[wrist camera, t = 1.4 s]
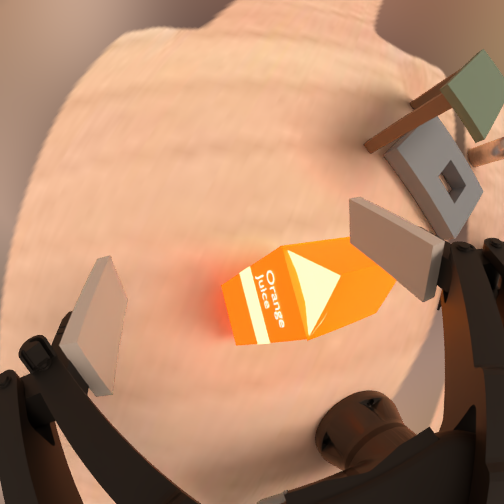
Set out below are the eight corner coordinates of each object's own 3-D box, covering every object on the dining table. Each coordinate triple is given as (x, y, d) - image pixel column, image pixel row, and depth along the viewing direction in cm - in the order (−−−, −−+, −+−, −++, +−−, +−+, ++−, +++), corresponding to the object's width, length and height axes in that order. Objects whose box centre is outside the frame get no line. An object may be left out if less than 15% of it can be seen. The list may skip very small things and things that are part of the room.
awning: (434, 126, 44) (510, 88, 23) (387, 176, 42) (484, 139, 21) (412, 97, 43) (483, 48, 22) (360, 142, 41) (447, 84, 21)
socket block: (469, 194, 45) (483, 191, 41) (439, 239, 43) (454, 239, 40) (420, 118, 43) (433, 110, 39) (383, 155, 42) (396, 148, 38)
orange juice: (220, 284, 35) (322, 215, 18) (281, 273, 39) (396, 211, 22) (236, 347, 34) (357, 335, 16) (296, 329, 38) (424, 300, 21)
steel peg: (480, 161, 46) (533, 145, 30) (474, 170, 45) (531, 154, 30) (471, 145, 45) (524, 126, 30) (465, 154, 45) (521, 135, 29)
